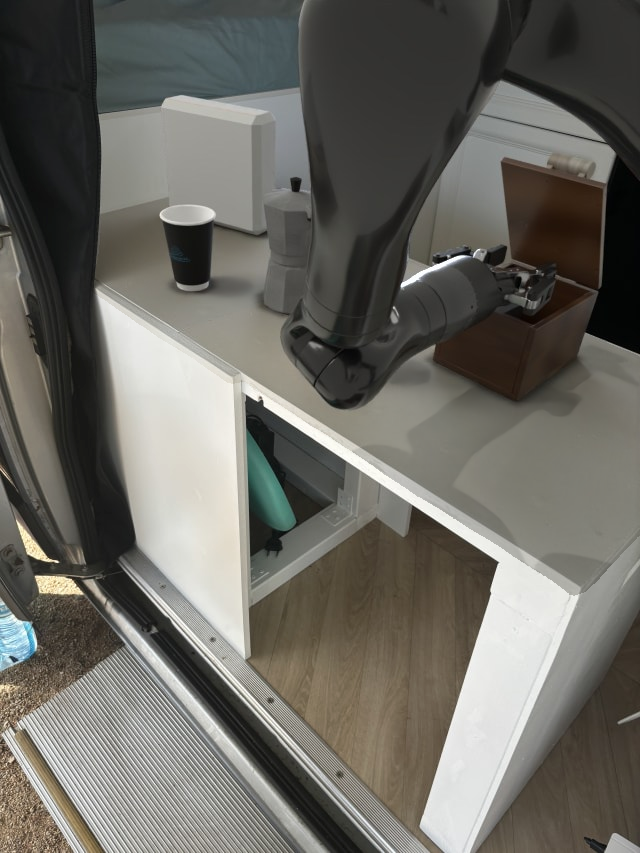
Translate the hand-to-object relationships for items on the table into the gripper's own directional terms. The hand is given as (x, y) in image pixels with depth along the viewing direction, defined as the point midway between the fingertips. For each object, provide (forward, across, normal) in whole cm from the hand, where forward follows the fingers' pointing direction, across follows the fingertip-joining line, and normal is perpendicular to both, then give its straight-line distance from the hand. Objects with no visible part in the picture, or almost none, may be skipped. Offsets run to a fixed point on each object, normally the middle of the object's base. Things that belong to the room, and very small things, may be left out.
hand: (526, 261), depth 78 cm
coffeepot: (-9, +30, +14) cm, 34 cm away
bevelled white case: (+4, +64, +14) cm, 66 cm away
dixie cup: (-17, +45, +14) cm, 50 cm away
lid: (+4, 0, -3) cm, 5 cm away
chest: (+1, 0, +14) cm, 14 cm away
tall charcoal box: (-2, 0, +13) cm, 13 cm away
